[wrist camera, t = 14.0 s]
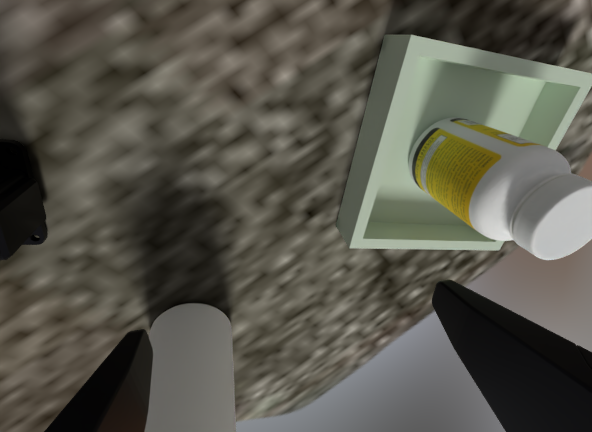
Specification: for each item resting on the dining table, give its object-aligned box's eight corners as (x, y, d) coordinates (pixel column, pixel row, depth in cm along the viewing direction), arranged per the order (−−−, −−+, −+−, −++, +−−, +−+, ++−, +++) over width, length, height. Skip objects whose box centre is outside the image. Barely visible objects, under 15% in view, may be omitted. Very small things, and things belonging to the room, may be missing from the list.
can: (205, 287, 25) (196, 464, 15) (244, 333, 28) (259, 501, 18) (133, 322, 25) (74, 520, 15) (180, 363, 28) (159, 547, 18)
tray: (335, 225, 24) (349, 248, 22) (384, 34, 18) (411, 34, 16) (473, 230, 28) (499, 250, 25) (553, 70, 22) (597, 75, 19)
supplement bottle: (412, 200, 24) (516, 288, 16) (399, 136, 21) (517, 202, 13) (478, 170, 24) (617, 243, 16) (473, 102, 21) (641, 146, 13)
